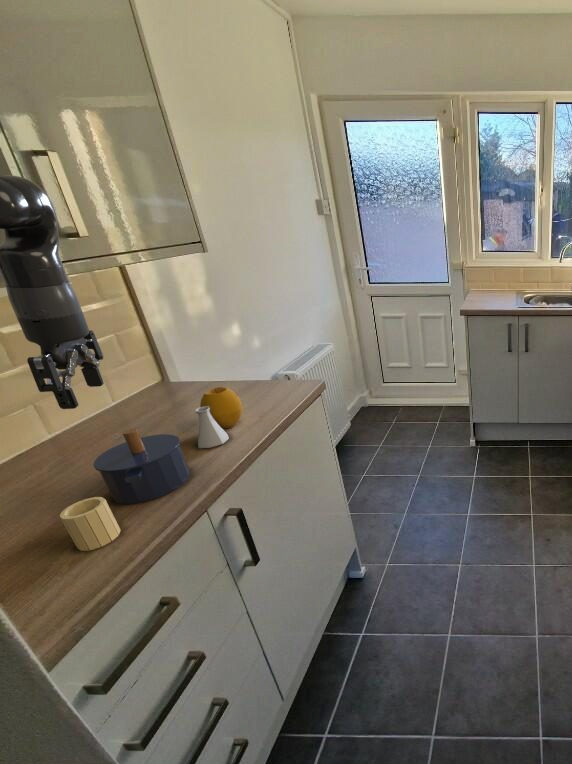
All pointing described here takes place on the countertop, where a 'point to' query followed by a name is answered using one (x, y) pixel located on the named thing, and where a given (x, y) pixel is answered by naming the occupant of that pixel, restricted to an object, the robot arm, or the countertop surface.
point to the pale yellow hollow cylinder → (90, 523)
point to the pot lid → (136, 451)
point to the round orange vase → (223, 406)
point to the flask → (209, 429)
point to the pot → (148, 479)
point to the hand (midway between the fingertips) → (83, 396)
